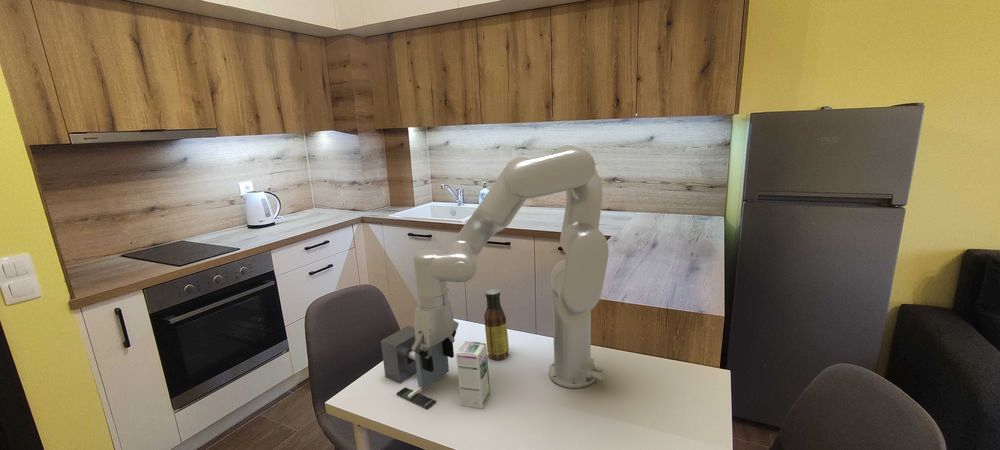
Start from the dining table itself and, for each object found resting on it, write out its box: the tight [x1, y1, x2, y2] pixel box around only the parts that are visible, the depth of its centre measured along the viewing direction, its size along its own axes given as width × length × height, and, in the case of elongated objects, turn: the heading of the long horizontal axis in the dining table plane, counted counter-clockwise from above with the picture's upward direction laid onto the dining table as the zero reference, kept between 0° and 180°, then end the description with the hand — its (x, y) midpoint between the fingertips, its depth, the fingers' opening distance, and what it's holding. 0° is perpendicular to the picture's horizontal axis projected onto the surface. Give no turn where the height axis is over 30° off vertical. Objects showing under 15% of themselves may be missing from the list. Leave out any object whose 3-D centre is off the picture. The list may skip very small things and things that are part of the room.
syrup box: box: [455, 341, 491, 410], centre depth 108 cm, size 6×6×14 cm
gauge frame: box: [380, 325, 437, 410], centre depth 117 cm, size 20×14×11 cm
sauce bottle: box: [483, 289, 510, 361], centre depth 127 cm, size 7×6×20 cm
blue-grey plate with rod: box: [406, 340, 450, 398], centre depth 118 cm, size 15×14×10 cm
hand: (438, 362), depth 114 cm, fingers open, 7 cm apart
